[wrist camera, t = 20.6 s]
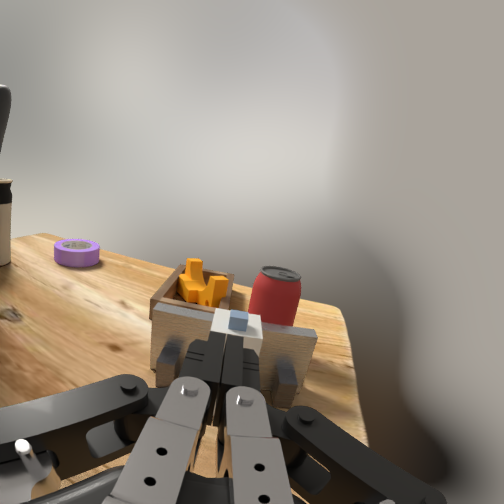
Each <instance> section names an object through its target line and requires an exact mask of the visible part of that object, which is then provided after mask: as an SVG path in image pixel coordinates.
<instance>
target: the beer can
mask: <svg viewBox="0 0 504 504" xmlns="http://www.w3.org/2000/svg"><path fill="white" fill-rule="evenodd" d="M260 270H261V272H260V273H259V275H258V276H257V278H256V279H255V282H254V285H253V289H252V294H251V299H250V304H249V309H248V313H249V314H255V315H260V318H261V322H265V323H271V324H278V325H285V326H293V323H294V319H295V315H296V311H297V307H298V303H299V300H300V296H301V283H300V279H301V276H300V275H299V274H298V273H296V272H294V271H292V270H289V269H286V268H282V267H276V266H264V267H262V268H261V269H260Z"/></svg>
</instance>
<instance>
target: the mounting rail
mask: <svg viewBox="0 0 504 504" xmlns="http://www.w3.org/2000/svg"><path fill="white" fill-rule="evenodd" d="M213 318H214V314H213V313H208V312H202V311H197V310H192V309H187V308H182V307H178V306H173V305H168V304H163V303H159V302H158V303H157V304H156V306H155V307H154V308H153V315H152V332H151V356H150V369H154V370H156V386H157V387H161V388H165V387H168V386H170V385H171V383H172V382H173V381H174V380H175V379H177V378H178V375H179V374H180V371H181V368H182V365H183V362H184V359H185V356H186V353H187V350H188V347H189V344H190V343H191V342H193V341H194V340H195V339H199V340H204V341H208V337H209V333H210V330H211V326H212V322H213ZM261 327H262V336H263V341H262V345H261V349H260V353H259V373H260V389H261V390H269V391H271V397H272V407H281V408H290V407H291V404H292V401H293V398H294V396H295V393H299V392H300V390H301V387H302V384H303V381H304V378H305V375H306V372H307V369H308V366H309V363H310V360H311V357H312V354H313V351H314V348H315V345H316V342H317V339H318V337H317V335H316V332H315V330H314V329H306V328H299V327H292V326H285V325H278V324H271V323H265V322H261Z"/></svg>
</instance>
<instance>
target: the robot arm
mask: <svg viewBox="0 0 504 504" xmlns="http://www.w3.org/2000/svg"><path fill="white" fill-rule="evenodd" d="M10 108H11V92H10V89H9V88H8V87H7V86H5V85H0V152H1V147H2V142H3V138H4V134H5V130H6V126H7V122H8V118H9V113H10ZM225 338H226V334H225V333H220V332H215V331H210V333H209V337H208V341H204V340H199V339H195V340H194V341H193V342H191V343H190V344H189V347H188V350H187V353H186V356H185V359H184V362H183V365H182V368H181V371H180V374H179V377H178V378H177V379H175V380H174V381H173V382H172V383H171V385H170V386H168V387H165V388H148V385H147V384H146V382H145V381H144V380H143V379H141V378H140V377H137V376H135V375H130V374H122V375H118V376H115V377H111V378H108V379H105V380H102V381H99V382H96V383H92V384H89V385H86V386H82V387H79V388H76V389H72V390H69V391H65V392H62V393H58V394H54V395H51V396H47V397H43V398H39V399H36V400H32V401H28V402H23V403H19V404H15V405H11V406H6V407H2V408H0V504H306V503H305V502H304V501H303V500H301V499H300V498H298V497H297V496H295V495H293V494H292V493H291V488H292V489H293V490H294V491H295V492H297V493H298V494H299V495H300V496H301V497H302V498H304V499H305V500H306V501H307V502H308V503H310V504H447V502H446V499H445V497H444V495H443V494H442V493H441V492H439V491H438V490H436V489H435V488H433V487H431V486H429V485H428V484H426V483H424V482H422V481H421V480H418V479H417V478H416V477H414V476H412V475H411V474H409V473H407V472H405V471H404V470H402V469H401V468H399V467H397V466H396V465H394V464H393V463H391V462H390V461H388V460H387V459H385V458H384V457H382V456H380V455H379V454H377V453H376V452H374V451H373V450H371V449H370V448H368V447H367V446H366V445H364V444H363V443H361V442H360V441H358V440H357V439H355V438H354V437H352V436H351V435H350V434H348V433H347V432H345V431H344V430H343V429H341V428H340V427H338V426H337V425H336V424H334V423H333V422H332V421H330V420H329V419H327V418H326V417H325V416H323V415H322V414H321V413H319V412H318V411H317V410H315V409H313V408H310V407H307V406H295V407H292V408H290V409H289V410H288V411H287V412H285V411H282V410H279V409H276V408H273V407H271V406H270V405H268V404H267V403H266V402H265V398H264V396H263V395H262V394H261V391H260V373H259V357H258V355H257V354H256V352H255V351H254V349H248V348H243V342H244V337H242V336H236V335H231V334H227V338H226V343H225ZM224 345H225V348H224ZM223 352H224V353H223ZM215 402H216V405H215ZM214 408H215V412H214ZM213 413H214V420H213V426H216V427H218V434H217V438H216V478H206V477H203V476H200V475H197V474H195V473H193V471H194V467H195V463H196V460H197V456H198V452H199V449H200V445H201V441H202V436H203V435H204V434H205V430H206V425H210V426H211V423H212V418H213ZM128 453H131V454H130V456H129V458H128V460H127V462H126V464H125V465H123V466H117V467H113V468H110V469H107V470H105V471H102V472H100V473H98V474H96V475H94V476H91V477H89V478H87V479H84V480H82V481H80V482H77V483H75V484H73V485H70V486H68V487H65V488H63V489H60V490H59V488H60V485H61V480H64V479H67V478H70V477H72V476H75V475H78V474H81V473H83V472H86V471H88V470H91V469H93V468H96V467H98V466H101V465H103V464H106V463H108V462H110V461H113V460H115V459H117V458H120V457H122V456H124V455H126V454H128ZM308 454H310V455H311V456H312V457H313V458H315V459H316V460H317V461H318V462H320V463H321V464H322V465H323V466H325V467H326V468H327V469H328V470H329V471H330V472H328V471H327V470H326V469H324V468H323V467H322V466H321V465H319V464H318V463H317V462H316V461H314V460H313V459H312V458H311V457H309V456H308ZM290 487H291V488H290Z"/></svg>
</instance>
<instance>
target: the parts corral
mask: <svg viewBox="0 0 504 504" xmlns="http://www.w3.org/2000/svg"><path fill="white" fill-rule="evenodd" d="M185 269H186V265H181V264H180V265H179V266H178V268H177V269H176V270H175V271H174V272H173V273H172V274H171V276H170V277H169V278H168V279H167V280H166V281H165V282H164V284H163V285H162V286H161V287H160V288H159V289H158V290H157V292H156V293H155V294H154V295H153V296H152V297H151V299H150V314H149V319H152V315H153V308H154V307H155V306H156V304H157V303H158V302H159V303H163V304H168V305H173V306H178V307H182V308H187V309H192V310H197V311H202V312H208V313H213V314H214V313H215V309H216V308H213V307H208V306H203V305H198V304H193V303H188V302H183V301H178V300H173V298H174V296H175V295H176V293H177V288H178V279H179V275H180V274H185ZM202 272H203V278H204V282H205V284H206V286H207V285H208V282H209V278H210V276H224V277H226V278H227V279H228V280H229V282H228V287H227V293H226V297H221V301H220V305H219V308H220V309H225V310H228V309H229V303H230V298H231V292H232V286H233V280H234V274H229V273H223V272H218V271H213V270H207V269H202Z"/></svg>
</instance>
